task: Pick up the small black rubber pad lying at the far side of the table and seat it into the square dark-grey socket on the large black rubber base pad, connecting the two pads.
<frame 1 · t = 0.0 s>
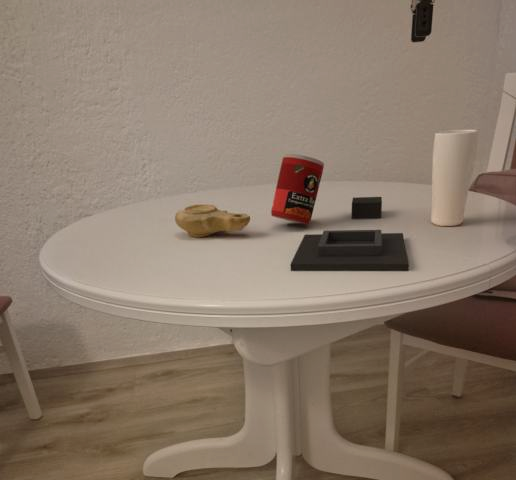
hand: (420, 39, 73), 28 cm above the table, tool pointing down, fingers open, 8 cm apart
canned food: (289, 221, 90), point 1 cm above the table
base pad: (350, 253, 73), on the table
drinking glass: (446, 224, 85), on the table
oil lamp: (213, 235, 90), on the table
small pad: (366, 215, 95), on the table
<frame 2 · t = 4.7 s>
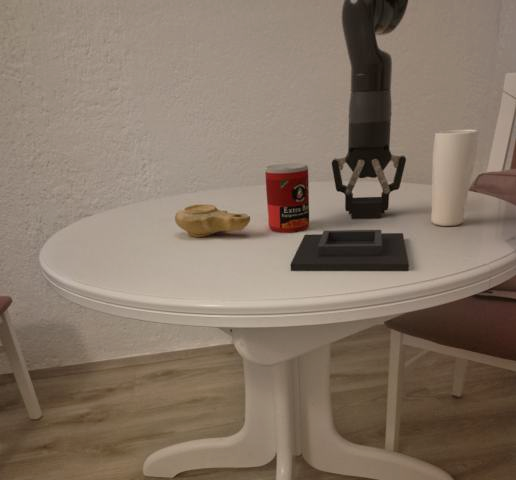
hand: (366, 212, 95), 1 cm above the table, tool pointing down, fingers closed on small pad, 5 cm apart
canned food: (289, 228, 91), on the table
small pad: (366, 215, 95), on the table, touching gripper
everything else where it was.
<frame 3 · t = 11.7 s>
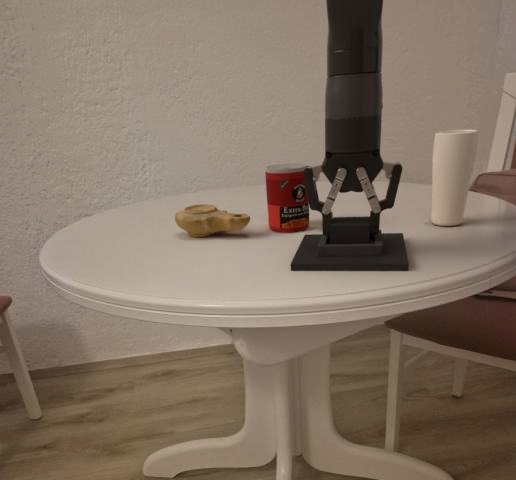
hand: (350, 237, 72), 3 cm above the table, tool pointing down, fingers closed on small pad, 5 cm apart
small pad: (350, 241, 72), point 2 cm above the table, touching gripper
everything else where it was.
when the fingers open (3 cm above the table, at t = 16.0 s): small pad drops 1 cm, resting on base pad.
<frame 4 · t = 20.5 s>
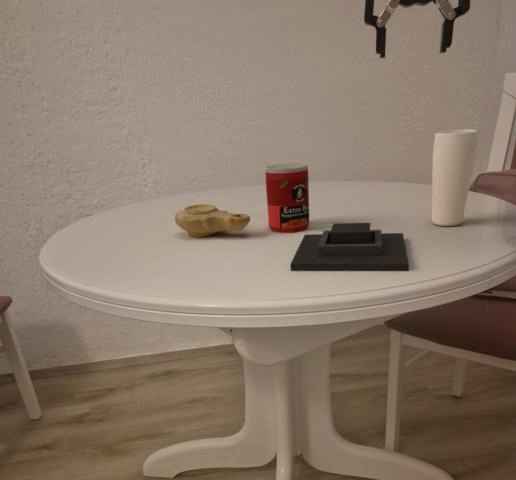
hand: (412, 55, 71), 26 cm above the table, tool pointing down, fingers open, 8 cm apart
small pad: (350, 247, 73), point 1 cm above the table, touching base pad
everything else where it was.
at the end: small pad 0.0 cm off-centre on the base pad, point 1.0 cm above the base pad's base; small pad tilted 0°; the gripper is holding nothing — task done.
